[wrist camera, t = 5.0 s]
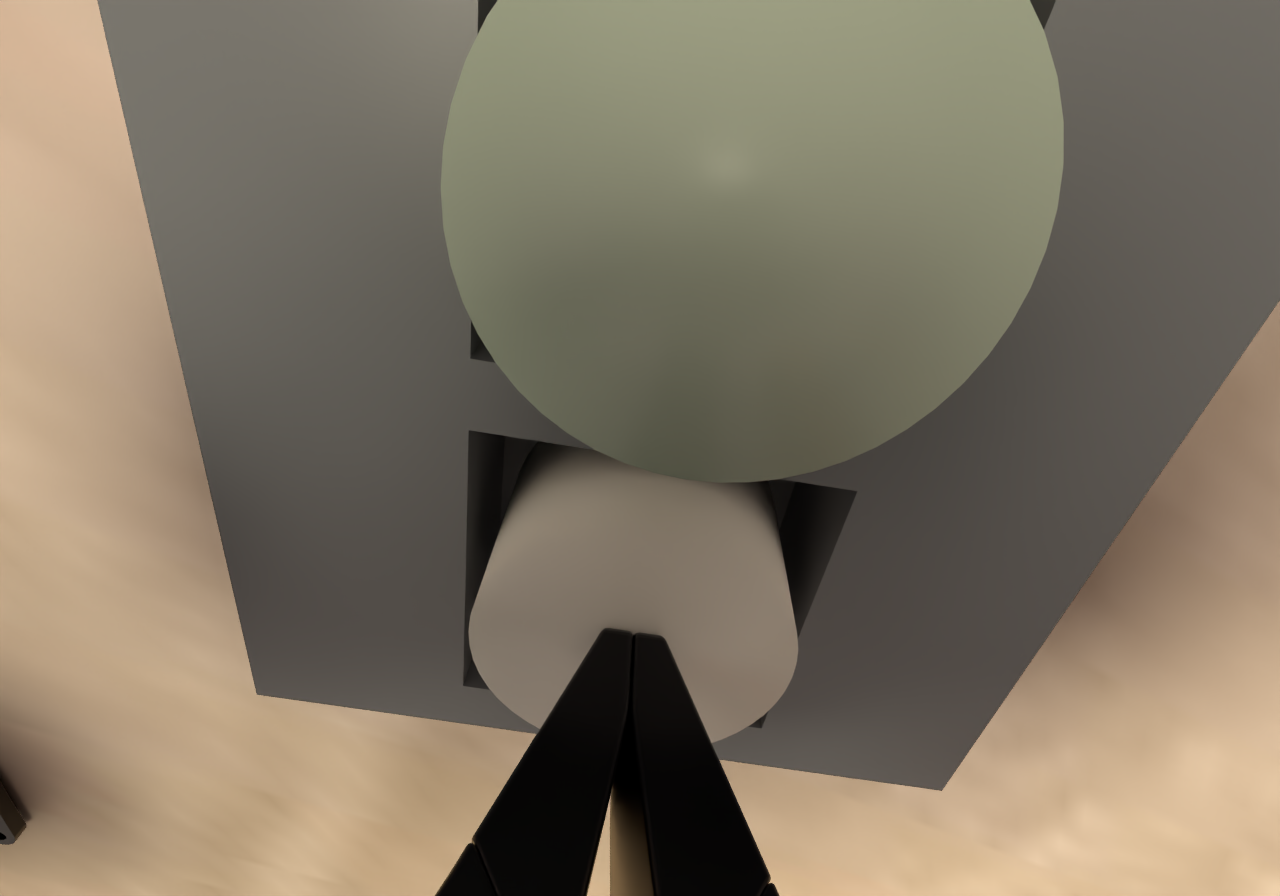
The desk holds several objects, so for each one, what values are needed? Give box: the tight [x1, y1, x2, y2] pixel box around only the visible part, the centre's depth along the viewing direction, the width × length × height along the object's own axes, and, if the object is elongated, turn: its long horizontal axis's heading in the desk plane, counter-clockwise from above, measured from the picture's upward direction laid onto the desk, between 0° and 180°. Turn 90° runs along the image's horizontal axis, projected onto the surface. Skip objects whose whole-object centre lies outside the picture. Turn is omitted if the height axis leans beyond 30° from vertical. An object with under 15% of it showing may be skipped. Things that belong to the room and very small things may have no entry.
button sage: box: [441, 0, 1064, 483], centre depth 6 cm, size 4×4×3 cm
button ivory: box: [468, 441, 798, 743], centre depth 11 cm, size 4×4×3 cm
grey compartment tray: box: [97, 0, 1280, 791], centre depth 8 cm, size 19×12×3 cm, turn 171°
